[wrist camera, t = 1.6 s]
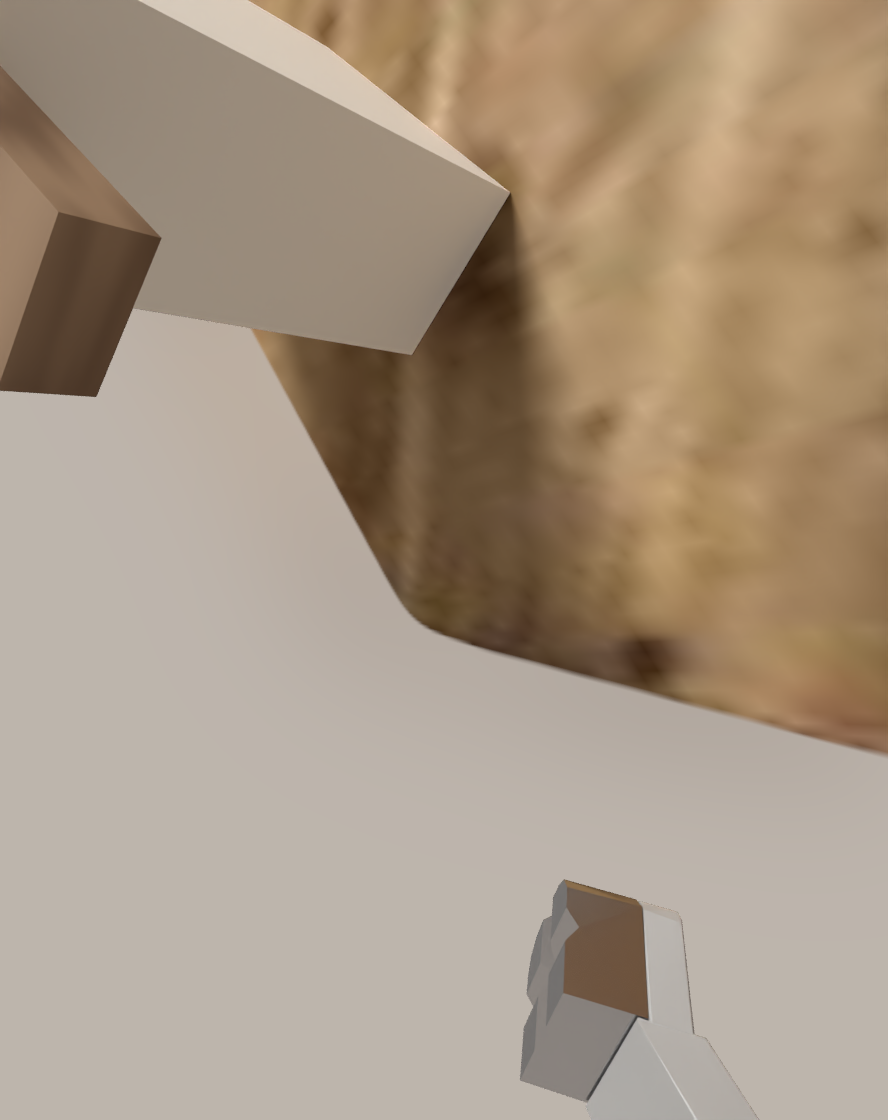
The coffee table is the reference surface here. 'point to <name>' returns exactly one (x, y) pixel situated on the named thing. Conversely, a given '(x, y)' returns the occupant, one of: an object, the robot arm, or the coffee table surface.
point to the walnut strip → (61, 256)
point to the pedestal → (256, 165)
